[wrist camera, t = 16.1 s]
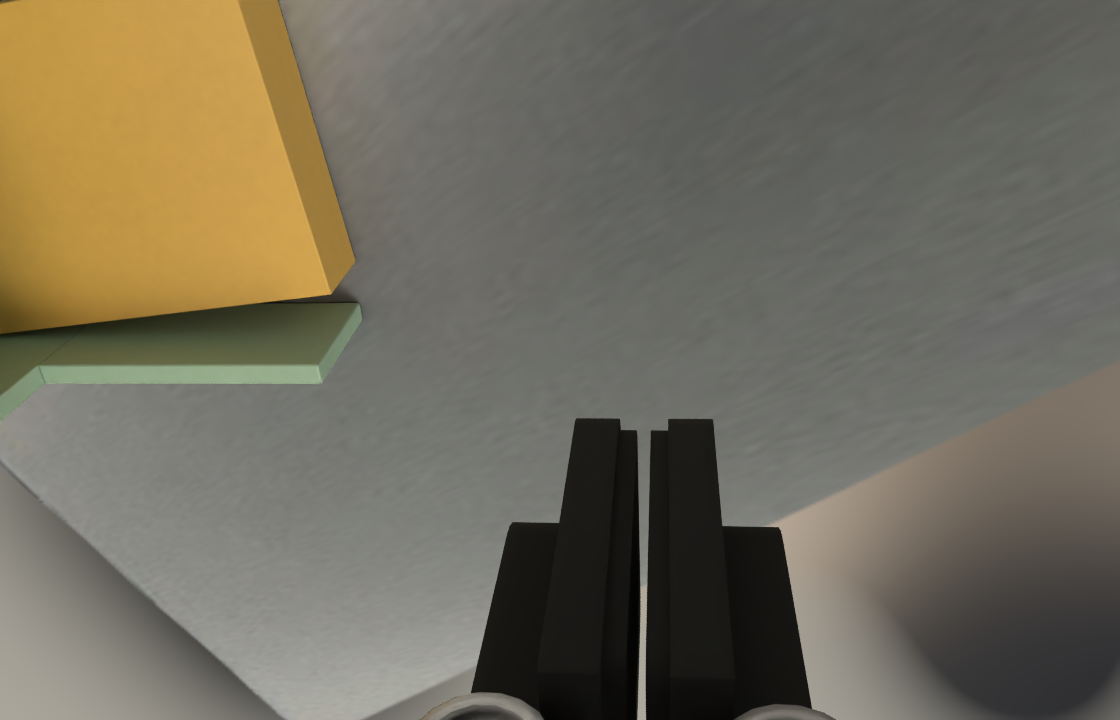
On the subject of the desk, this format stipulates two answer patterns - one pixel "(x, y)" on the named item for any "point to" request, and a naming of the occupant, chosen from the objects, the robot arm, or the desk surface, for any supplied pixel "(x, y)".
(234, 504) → the desk surface
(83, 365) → the green block
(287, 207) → the orange flat block
